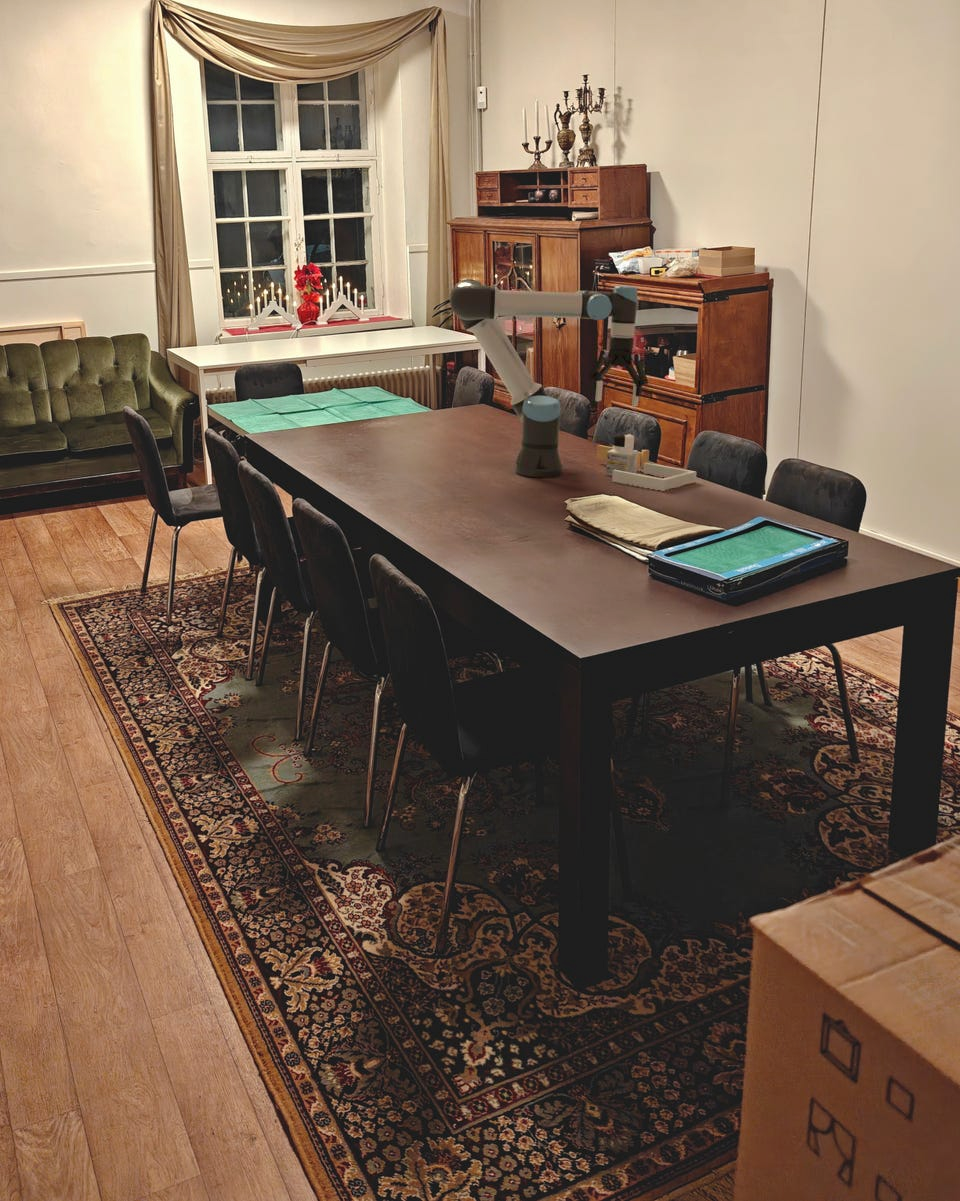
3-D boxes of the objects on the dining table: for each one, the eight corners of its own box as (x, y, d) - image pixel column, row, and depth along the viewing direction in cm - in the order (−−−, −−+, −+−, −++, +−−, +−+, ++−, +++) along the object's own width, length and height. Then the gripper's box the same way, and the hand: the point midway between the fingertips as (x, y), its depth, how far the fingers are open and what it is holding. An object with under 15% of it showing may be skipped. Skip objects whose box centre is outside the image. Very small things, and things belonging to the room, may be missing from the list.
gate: (595, 459, 379) (596, 442, 377) (599, 458, 381) (600, 441, 379) (645, 468, 367) (646, 451, 365) (649, 467, 369) (650, 450, 367)
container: (605, 475, 362) (608, 434, 358) (614, 471, 369) (617, 431, 365) (628, 478, 359) (631, 437, 355) (636, 474, 365) (639, 433, 361)
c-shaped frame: (663, 491, 342) (664, 480, 341) (611, 481, 353) (612, 470, 352) (695, 482, 356) (696, 471, 355) (645, 473, 367) (646, 462, 366)
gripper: (662, 339, 358) (656, 407, 365) (594, 332, 372) (589, 397, 379) (651, 340, 352) (644, 409, 359) (582, 333, 366) (577, 399, 373)
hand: (616, 403), depth 369 cm, fingers open, 13 cm apart
